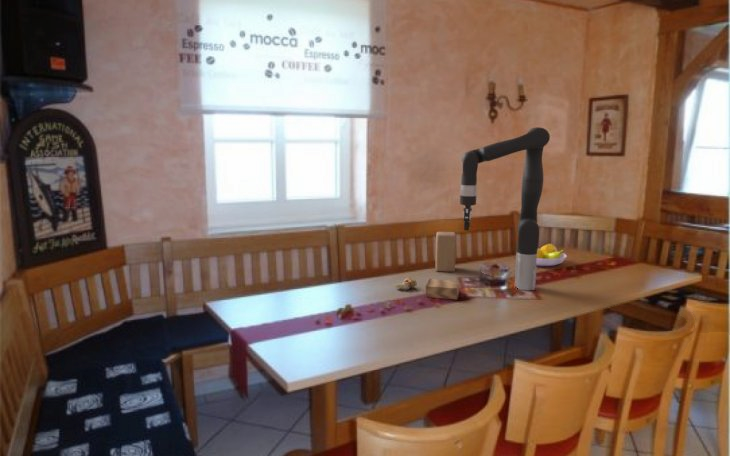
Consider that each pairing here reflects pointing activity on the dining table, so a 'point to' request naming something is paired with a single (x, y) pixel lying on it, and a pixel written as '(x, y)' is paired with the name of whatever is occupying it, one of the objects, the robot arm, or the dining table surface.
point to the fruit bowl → (549, 256)
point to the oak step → (442, 289)
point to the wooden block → (445, 251)
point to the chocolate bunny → (407, 284)
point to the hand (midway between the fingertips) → (466, 228)
